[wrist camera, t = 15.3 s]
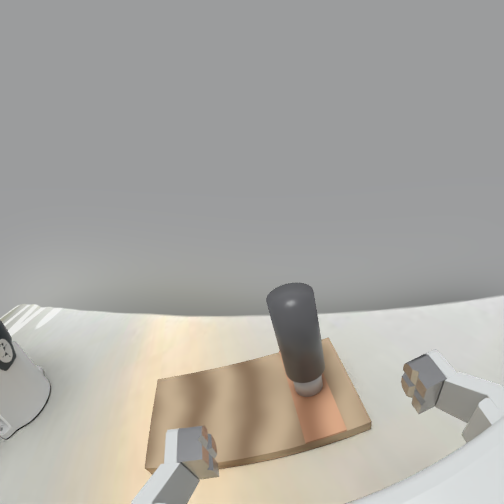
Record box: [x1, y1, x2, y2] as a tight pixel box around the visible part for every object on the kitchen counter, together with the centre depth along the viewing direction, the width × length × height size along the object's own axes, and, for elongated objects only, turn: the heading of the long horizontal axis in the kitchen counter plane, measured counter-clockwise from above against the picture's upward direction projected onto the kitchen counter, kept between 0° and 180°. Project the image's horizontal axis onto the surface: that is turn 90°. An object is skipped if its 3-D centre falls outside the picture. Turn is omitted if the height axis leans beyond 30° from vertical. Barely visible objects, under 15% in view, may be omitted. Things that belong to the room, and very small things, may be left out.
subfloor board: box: [145, 338, 371, 474], centre depth 30 cm, size 23×14×2 cm, turn 97°
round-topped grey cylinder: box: [266, 283, 325, 397], centre depth 27 cm, size 4×4×12 cm
